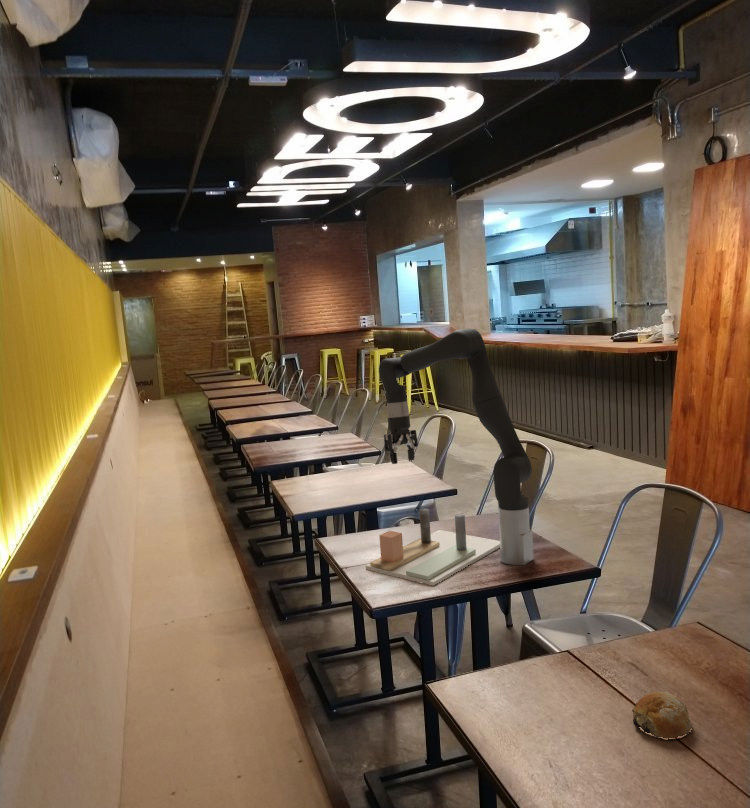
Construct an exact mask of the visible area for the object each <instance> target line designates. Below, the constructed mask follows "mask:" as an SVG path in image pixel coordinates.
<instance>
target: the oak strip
mask: <svg viewBox="0 0 750 808" xmlns="http://www.w3.org/2000/svg"><path fill="white" fill-rule="evenodd" d="M430 520H431V517H430V509H429V508H420V509H419V523H420V524H419V525H420V526H419V528H420V538H418V539H416V540H414V541H412V542H409V543H407V544H406V545H403V558H402V559H400V560H398V561H396V562H394V563H393V562H388V561H384V560H381V556H380V557H378V558H377V559H374V560H373V561H370V562H369V564H370V566H372V567H376V568H380V569H384V570H388V571H391V570H393V569H395V568H397V567H399V566H401V565H403V564H405V563H407V562H409V561H411V560H413V559H415V558H417V557H419V556H421V555H423V554H424V553H426V552H428V551H430V550H432V549H434V548H436V547H438V546H440V543H439V542H436V541H431V534H432V533H431V521H430Z"/></svg>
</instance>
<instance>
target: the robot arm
mask: <svg viewBox="0 0 750 808" xmlns="http://www.w3.org/2000/svg"><path fill="white" fill-rule="evenodd" d="M484 341H485V340H484V339H483V336H482V334H481V333H480V332H479V331H478V330H477V329H475V328H471V327H470V328H461V329H455V330H454V331H452V332H450V333H448V334H447V335H445V336H443V337H442V338H441V339H438V340H436V341H435V342H433V343H431V344H428V345H425V346H423V347H419V348H415V349H413V350H411V351H408V352H405V353H404V354H403V355H402V356H399V357H389V358H384V359H381V360H380V363H379V365H378V374H379V378H380V379H381V380H380V381H381V383H382V387H383V388H384V391H385V398H386V414H387V423H388V430H390V433H388V434H387V433H384V435H383V440H384V441H383V444H384V452H387V453H389V456H390V462H391V465H392V464H393V465H396V464H398V463H399V462H398V453H397V450H398V448H399V447H400V446H401V445H404V446H405V447H406V449H407V458H408V460H409V461H414V460H415V448H416V447H418V446H419V443H418V442H419V441H418V436H417V435H418V434H417V430H416V429H410V428H411V421H410V420H411V418H410V410H409V404H408V397H407V389H406V387H405V385H402V384H399V383H398V380H397V379H401V378H404V377H406V376H408V375H410V374H413V373H414V372H415V373H416V372H419V371H421V370H424V369H427V368H429V367H431V366H433V365H434V364H437V363H439V362H442V361H448V360H457V359H458V360H464V359H466V361H467V363H468V366H469V369H470V372H471V377H472V387H471V400H472V404H473V405H472V406H473V408H474V410H475V413H476V415H477V418H478V420H479V422H480V423H481V425H483V427H484V428H485V430H487V431H488V433H489V434H490V435H491V436H492V437H493V439H495V441H496V442H497V444H498V446H499V448H500V450H501V453H502V456H503V457H501V458H499V459H497V460H496V462H495V464H494V466H493V474H492V477H493V484H494V485H493V486H494V495H495V499H496V501H497V505H498V507H497V508H498V527H499V528H498V530H499V533H498V534H499V541H500V548H499V550H500V552H499V554H500V561H501V563H503V564H507V565H513V566H516V565H517V566H519V565H520V566H525V565H527V564H529V563H530V562H531V561H533V560H534V541H533V540H534V539H533V538H534V537H533V530H532V529H530V508H529V507H530V505H529V504H530V503H529V497H527V496H526V495H525V494H522V488H521V487H522V486H521V484H522V483H525V482H527V481H528V480H529V479H530V478H531V476H532V471H533V468H532V467H533V466H532V463H531V461H530V459H529V458H530V457H529V456H528V454H527V452H526V450H525V448H524V446H523V444H522V442H521V440H520V438H519V437H518V434H517V431H516V428H515V427H514V424H513V422H512V419H511V417H510V414H509V411H508V407H507V406H506V403H505V400H504V397H503V395H502V393H501V390H500V388H499V385H498V383H497V380H496V377H495V374H494V372H493V369H492V366H491V363H490V360H489V355H488V352H487V347H486V344H485V342H484Z"/></svg>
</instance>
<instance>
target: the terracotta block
mask: <svg viewBox="0 0 750 808" xmlns="http://www.w3.org/2000/svg"><path fill="white" fill-rule="evenodd" d="M403 546H404V545H403V533H402V532H398V531H394V530H388V531H385V532H383V533H381V534H379V547H380V557H381V560H384V561H388V562H393V563H394V562H396V561H398V560H400V559H402V558H403Z"/></svg>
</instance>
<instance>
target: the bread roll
mask: <svg viewBox="0 0 750 808" xmlns="http://www.w3.org/2000/svg"><path fill="white" fill-rule="evenodd" d="M635 703H636V704H635V706H634V707H633V708H632V709H631V711H632V716H633V717H632V718H633V719H632V723H633V726H634V727H636V728H638V727H641V728H642V729H643V730H644V732H647V733H651V734H652V735H654V736H656V737H663V738H668V739H669V738H674V737H678V736H683V735H685V734H687V733H688V734H690V733H689V731H690V729H691V727H692V726H691V720H690V716H689V711H688V708H687V705H686V704H685V703H684V702H683V700H681V699H680V698H679V697H678V696H677V695H674V694H671V692H669V691H655V692H651V693H650V692H649V693H648V694H646V695H644V696H642V697H640V698H639V700H638V701H637V702H635Z"/></svg>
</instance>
